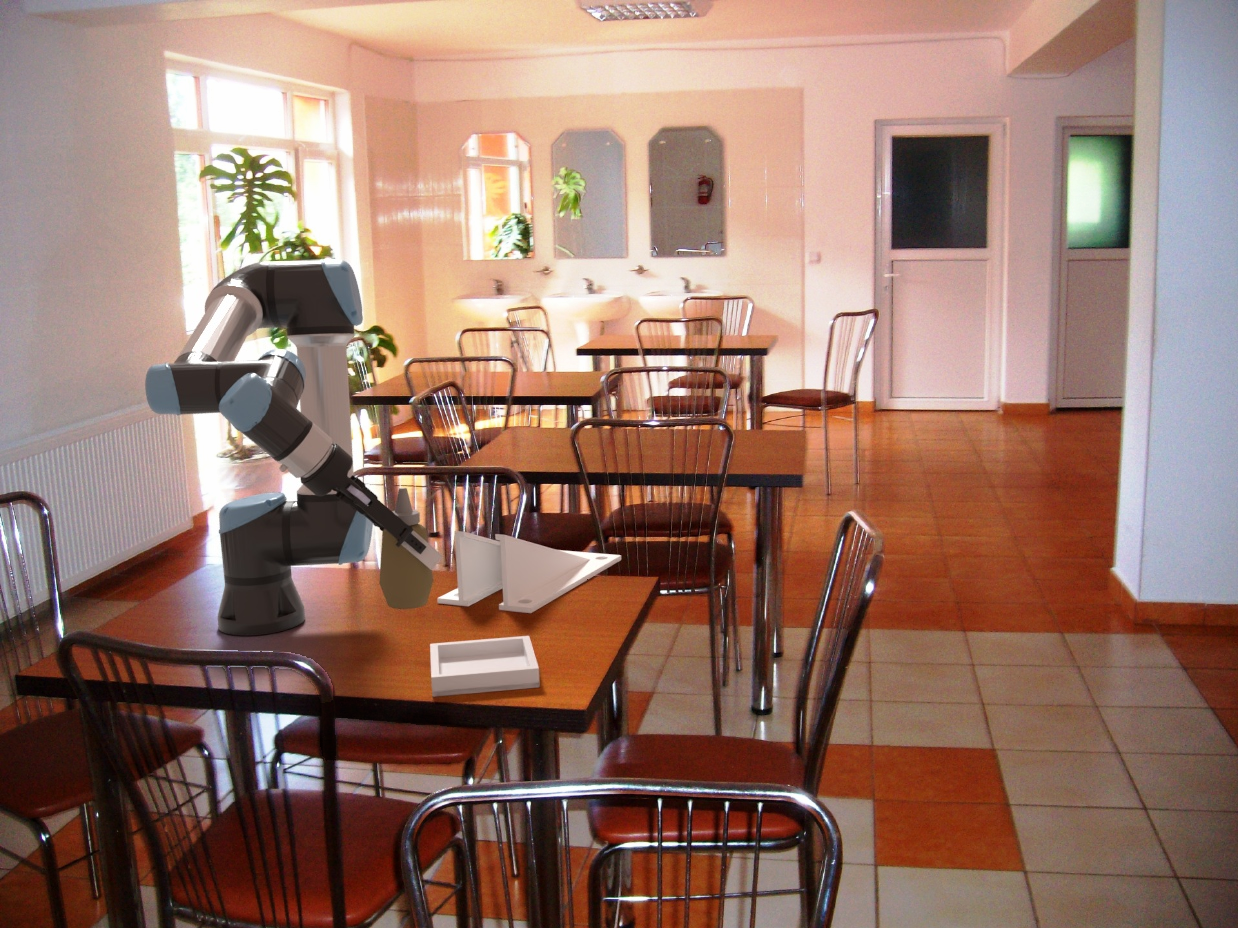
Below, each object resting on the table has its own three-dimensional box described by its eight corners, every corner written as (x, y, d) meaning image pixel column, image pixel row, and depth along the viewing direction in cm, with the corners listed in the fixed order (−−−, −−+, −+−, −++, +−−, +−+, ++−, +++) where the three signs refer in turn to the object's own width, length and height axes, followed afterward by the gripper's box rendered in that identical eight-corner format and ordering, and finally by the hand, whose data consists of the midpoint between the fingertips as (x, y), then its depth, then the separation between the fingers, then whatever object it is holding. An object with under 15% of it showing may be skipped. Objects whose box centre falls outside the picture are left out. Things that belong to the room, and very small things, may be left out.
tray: (432, 696, 178) (431, 677, 178) (431, 661, 194) (430, 643, 193) (539, 687, 181) (538, 668, 180) (529, 653, 196) (529, 635, 196)
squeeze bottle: (421, 613, 177) (417, 494, 174) (371, 610, 179) (366, 492, 176) (442, 599, 185) (438, 484, 182) (393, 596, 187) (389, 483, 184)
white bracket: (433, 529, 224) (535, 488, 260) (437, 603, 226) (537, 552, 262) (527, 536, 216) (619, 493, 252) (530, 613, 218) (621, 559, 254)
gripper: (284, 471, 181) (394, 563, 190) (314, 491, 163) (433, 591, 173) (318, 433, 182) (425, 527, 192) (351, 449, 165) (466, 551, 175)
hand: (428, 557), depth 183 cm, fingers closed on squeeze bottle, 6 cm apart
